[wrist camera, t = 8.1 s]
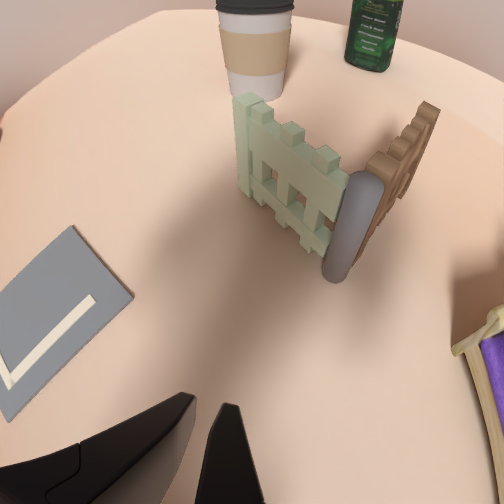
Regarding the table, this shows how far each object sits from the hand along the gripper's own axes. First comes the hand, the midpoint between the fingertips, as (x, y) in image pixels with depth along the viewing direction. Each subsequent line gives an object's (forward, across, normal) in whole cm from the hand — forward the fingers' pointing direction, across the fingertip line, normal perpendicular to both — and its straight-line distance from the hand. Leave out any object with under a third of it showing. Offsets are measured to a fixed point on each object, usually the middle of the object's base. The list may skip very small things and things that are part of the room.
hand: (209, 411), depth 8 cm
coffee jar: (+48, -10, -30) cm, 58 cm away
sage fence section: (+20, -1, -2) cm, 21 cm away
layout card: (+12, +19, +7) cm, 23 cm away
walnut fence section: (+23, -8, -4) cm, 25 cm away
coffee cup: (+37, +6, -18) cm, 41 cm away
